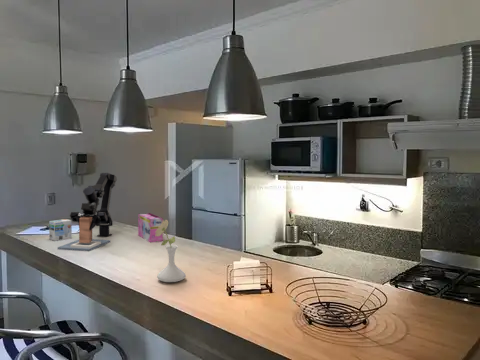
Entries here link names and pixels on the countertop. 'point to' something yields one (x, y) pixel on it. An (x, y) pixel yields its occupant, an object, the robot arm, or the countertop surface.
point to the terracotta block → (85, 229)
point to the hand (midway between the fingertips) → (84, 229)
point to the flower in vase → (171, 270)
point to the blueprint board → (84, 245)
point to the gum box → (149, 227)
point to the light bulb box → (60, 229)
